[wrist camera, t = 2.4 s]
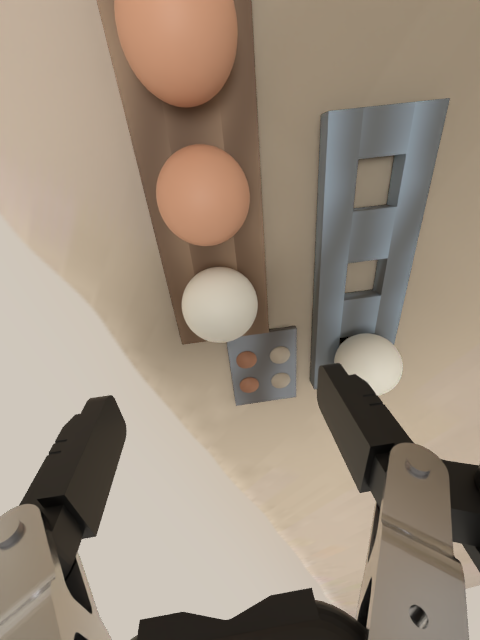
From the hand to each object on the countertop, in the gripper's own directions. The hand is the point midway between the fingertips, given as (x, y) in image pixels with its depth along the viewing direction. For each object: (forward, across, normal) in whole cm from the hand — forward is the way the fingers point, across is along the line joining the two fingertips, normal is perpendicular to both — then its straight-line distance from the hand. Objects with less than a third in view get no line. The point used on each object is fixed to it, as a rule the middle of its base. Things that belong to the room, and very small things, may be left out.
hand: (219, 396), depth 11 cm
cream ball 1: (+11, 0, 0) cm, 11 cm away
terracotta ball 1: (+11, 0, -13) cm, 17 cm away
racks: (+11, -5, -2) cm, 13 cm away
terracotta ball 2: (+11, 0, -6) cm, 13 cm away
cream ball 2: (+11, -11, +7) cm, 17 cm away
